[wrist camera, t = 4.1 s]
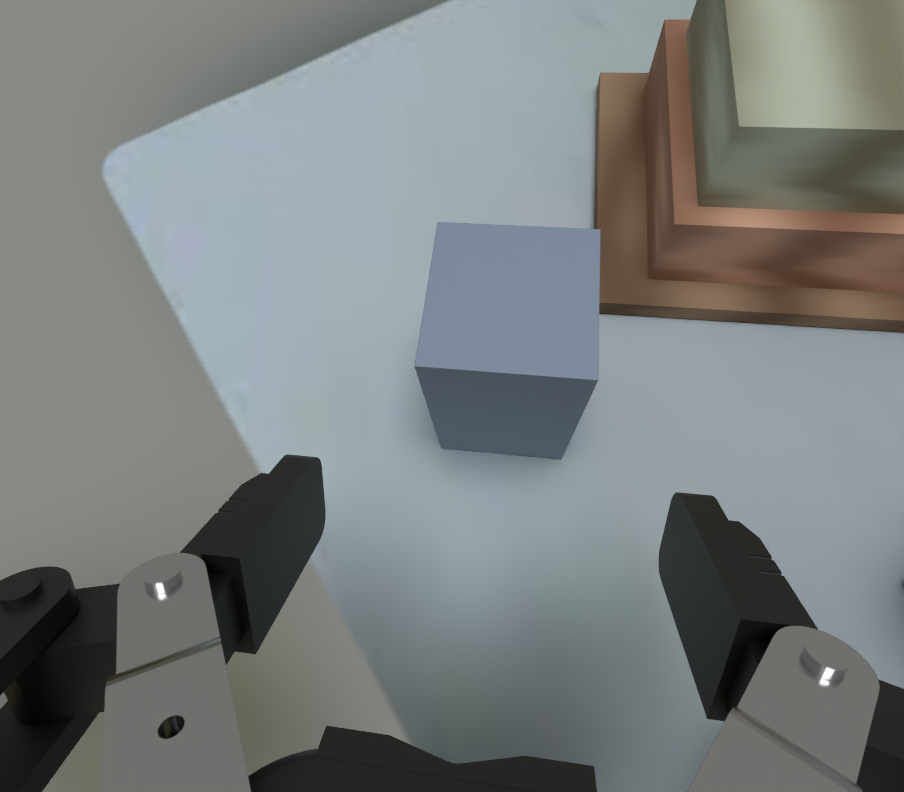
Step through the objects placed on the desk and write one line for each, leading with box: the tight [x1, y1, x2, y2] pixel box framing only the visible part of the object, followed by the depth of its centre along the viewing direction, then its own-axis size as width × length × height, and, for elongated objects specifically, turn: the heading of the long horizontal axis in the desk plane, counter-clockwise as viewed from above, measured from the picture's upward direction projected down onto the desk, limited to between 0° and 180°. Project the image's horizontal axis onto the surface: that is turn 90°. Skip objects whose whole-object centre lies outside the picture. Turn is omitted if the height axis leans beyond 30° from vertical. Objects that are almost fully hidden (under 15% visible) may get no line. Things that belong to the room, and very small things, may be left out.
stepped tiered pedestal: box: [594, 0, 904, 332], centre depth 24 cm, size 18×16×9 cm
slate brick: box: [415, 222, 600, 460], centre depth 21 cm, size 6×6×9 cm
